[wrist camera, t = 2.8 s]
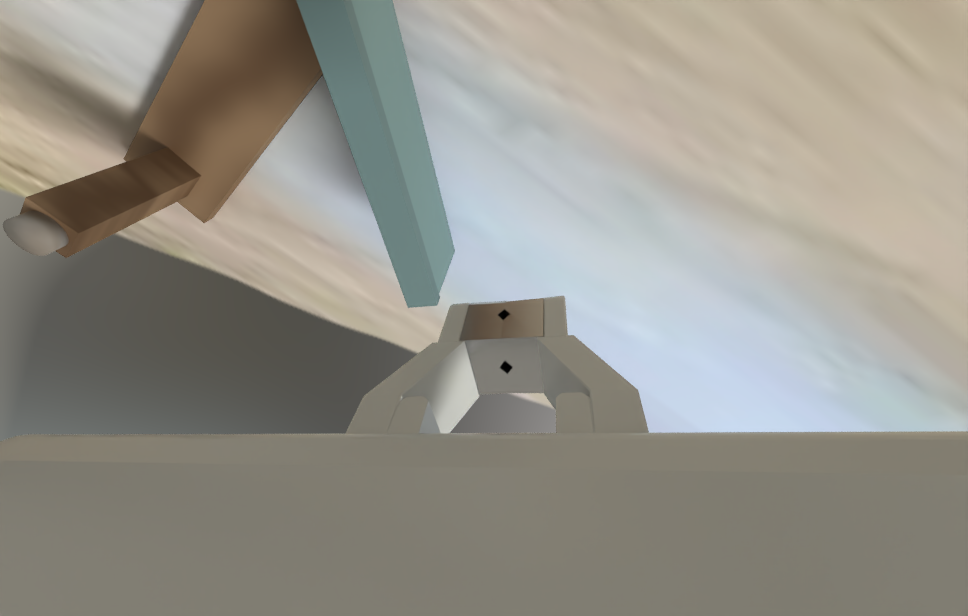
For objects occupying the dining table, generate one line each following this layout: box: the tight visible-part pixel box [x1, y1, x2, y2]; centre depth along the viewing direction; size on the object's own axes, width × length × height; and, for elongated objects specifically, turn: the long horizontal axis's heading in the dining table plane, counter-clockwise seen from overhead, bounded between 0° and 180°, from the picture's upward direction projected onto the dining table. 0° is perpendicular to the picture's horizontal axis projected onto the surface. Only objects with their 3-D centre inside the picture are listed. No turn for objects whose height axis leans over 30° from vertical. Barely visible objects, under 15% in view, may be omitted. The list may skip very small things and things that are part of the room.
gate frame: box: [3, 0, 323, 258], centre depth 18 cm, size 6×27×11 cm, turn 130°
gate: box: [296, 0, 455, 308], centre depth 20 cm, size 19×2×7 cm, turn 10°
